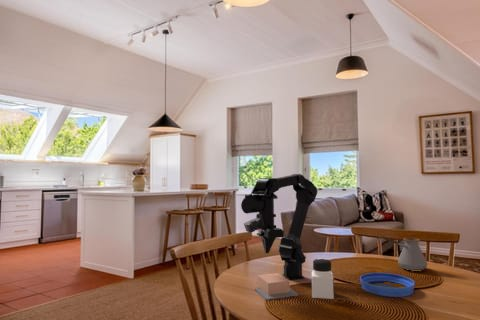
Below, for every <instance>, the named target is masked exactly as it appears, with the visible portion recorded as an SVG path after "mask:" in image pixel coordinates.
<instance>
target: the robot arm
mask: <svg viewBox="0 0 480 320" xmlns="http://www.w3.org/2000/svg"><path fill="white" fill-rule="evenodd" d="M290 186H292V189H293V190H294V191H295V199H296V201H297V203H296V205H295V210H294V213H293V216H292V219H291V222H290V223H291V224H290V228H289V231H288V233H287V235H286V236H285V230H284V229H282V228H280V227H277V225H276V224H275V218H277V214H276V213H275V201H274V200H277V199H278V198H279V197H278V195H276V194H275V193H276V192H278V191H279V190H280V189H281V188H287V187H290ZM317 195H318V188H317V187H316V185H315V183H313V182H312V181H310V180H309V179H307V178H306V177H305V176H304V175H303V174H302V173H292V174H290V175H285V176H281V177H276V178H275V177H274V178H273V177H261V178H260V177H259V178H258V179H256V182H255V185H254V186H253V189H252V190H251V193H249V194H245V195H244V198H243V199H242V202H241V204H240V208H241V210H242V211H243V213H244V214H247V215H248V214H255V213H256V215H255V218H253V219H251V220H248V221H246V222H244V223H243V226H244V228H245V232H248V233H249V234H251V233H254V232H255V231H257V233H256V235H257V237H259V238H260V239H261V243H262V245H263V250H264V253H265V254H269V253H270V252H271V249H272V247H273V244H274V242H275V240H276V239H278V238H281V240H280V243H279V245H278V248H279V249H278V252H279V254H280V255H279V256H280V260H281V261H282V262H284V264H283V273H282V276H283V277H284V278H286V279H287V280H289V281H290V280H298V279H299V280H301V279H304V278H305V276H304V275H303V265H304V263H306V259H307V256H306V255H305V254H304V253H303V251H302V248H303V246H302V241H301V238H302V232H303V229H304V225H305V222H306V218H307V214H308V212H309V207H310V205H312V203H314V202H315V200H316V198H317Z"/></svg>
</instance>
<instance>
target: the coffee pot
mask: <svg viewBox="0 0 480 320" xmlns="http://www.w3.org/2000/svg"><path fill="white" fill-rule="evenodd" d="M380 238H381V239H380ZM378 239H379V241H380V242H381V241H383V240H385V241H388V242H390V243H393V244H396V245H398V246H400V247H403V248H402V250H401V252H400V255H399V258H398V259H397V263H398V265H399V266H400V267H401V268H402V269H403V268H404V269H408V270H425V269H426V268H427V267H428V262H427V260H426V258H425V255H424V254H423V252H422V249H421V247H420V245H419V243H420V241H421V239H419V238H415V237H404V238H403V241H404V244H403V243H401V242H398V241H396V240H393V239H392V238H388V237H387V236H384V235H381V236H379V238H378ZM404 269H403V270H404Z"/></svg>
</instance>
